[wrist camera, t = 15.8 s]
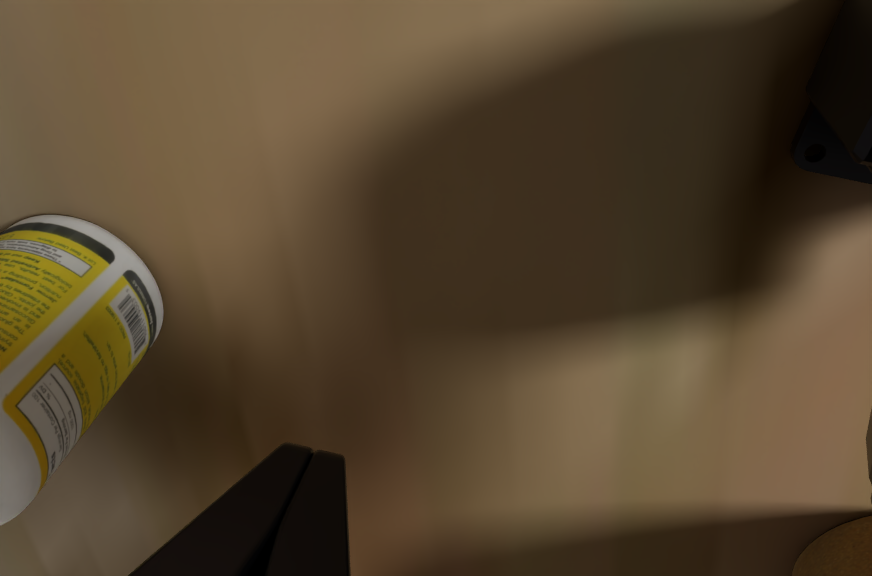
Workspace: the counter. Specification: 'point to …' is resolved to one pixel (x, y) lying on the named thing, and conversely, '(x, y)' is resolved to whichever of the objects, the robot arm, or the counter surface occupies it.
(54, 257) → the pill bottle
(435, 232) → the counter surface
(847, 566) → the plant pot
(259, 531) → the robot arm
